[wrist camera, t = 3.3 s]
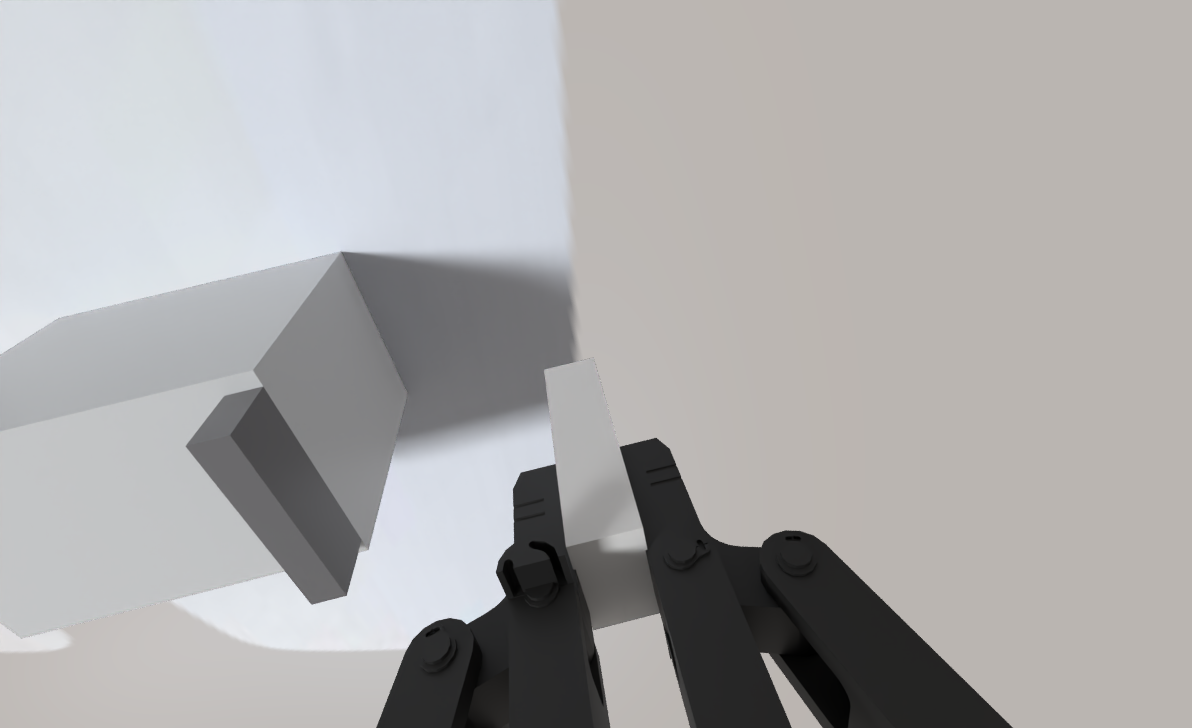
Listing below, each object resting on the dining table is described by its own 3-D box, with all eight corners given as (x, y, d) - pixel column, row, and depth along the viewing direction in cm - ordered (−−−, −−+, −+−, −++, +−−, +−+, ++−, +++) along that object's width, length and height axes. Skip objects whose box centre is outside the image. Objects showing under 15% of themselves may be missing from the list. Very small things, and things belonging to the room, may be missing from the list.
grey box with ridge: (60, 317, 21) (-301, 544, 11) (341, 251, 21) (217, 418, 12) (170, 451, 24) (-33, 705, 15) (408, 393, 25) (353, 606, 15)
